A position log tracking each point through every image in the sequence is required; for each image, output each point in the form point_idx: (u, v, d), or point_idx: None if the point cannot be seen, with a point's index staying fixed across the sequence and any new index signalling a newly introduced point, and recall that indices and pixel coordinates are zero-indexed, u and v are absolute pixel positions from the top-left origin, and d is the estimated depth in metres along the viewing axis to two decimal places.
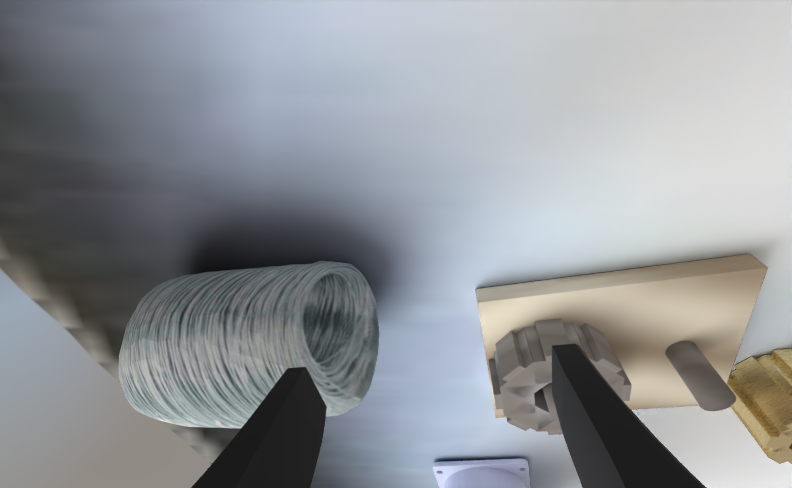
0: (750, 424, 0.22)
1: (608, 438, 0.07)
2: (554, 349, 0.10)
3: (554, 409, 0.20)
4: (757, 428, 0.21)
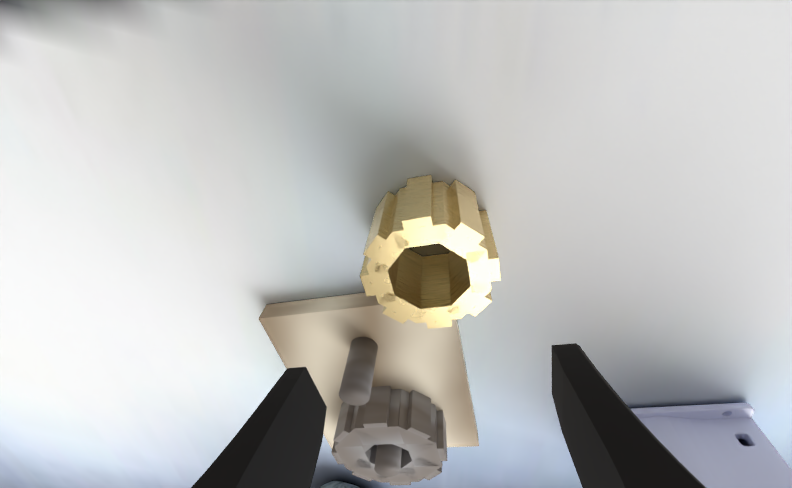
0: None
1: (608, 438, 0.07)
2: (554, 349, 0.10)
3: (386, 474, 0.23)
4: None
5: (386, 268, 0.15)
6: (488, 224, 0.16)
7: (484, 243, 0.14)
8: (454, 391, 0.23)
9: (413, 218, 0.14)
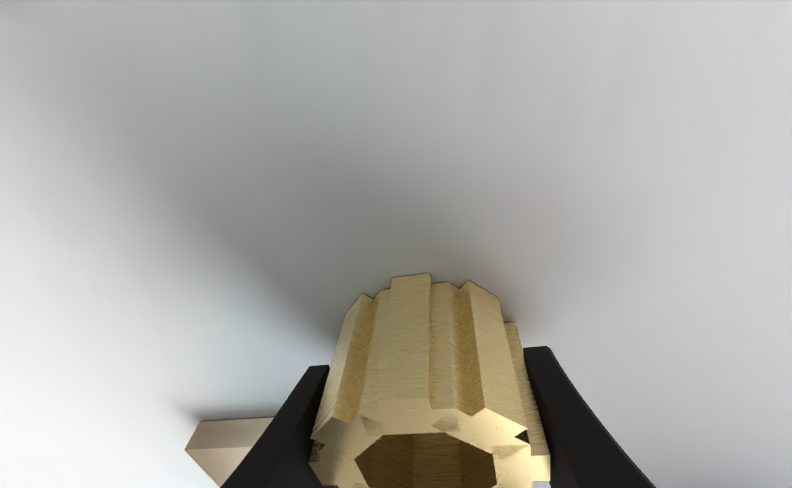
0: None
1: (567, 440, 0.07)
2: (524, 351, 0.10)
3: None
4: None
5: (352, 457, 0.09)
6: (522, 357, 0.10)
7: None
8: None
9: (396, 396, 0.07)
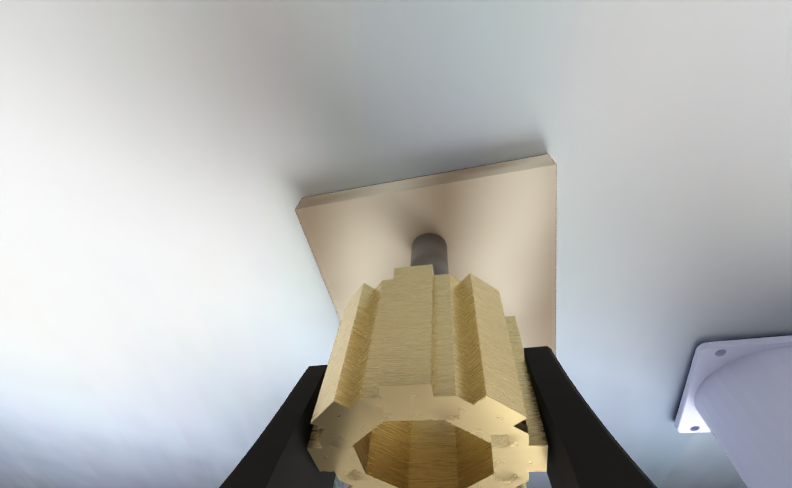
0: None
1: (568, 440, 0.07)
2: (525, 351, 0.10)
3: None
4: None
5: (351, 443, 0.09)
6: (521, 350, 0.10)
7: None
8: (537, 313, 0.18)
9: (397, 383, 0.07)
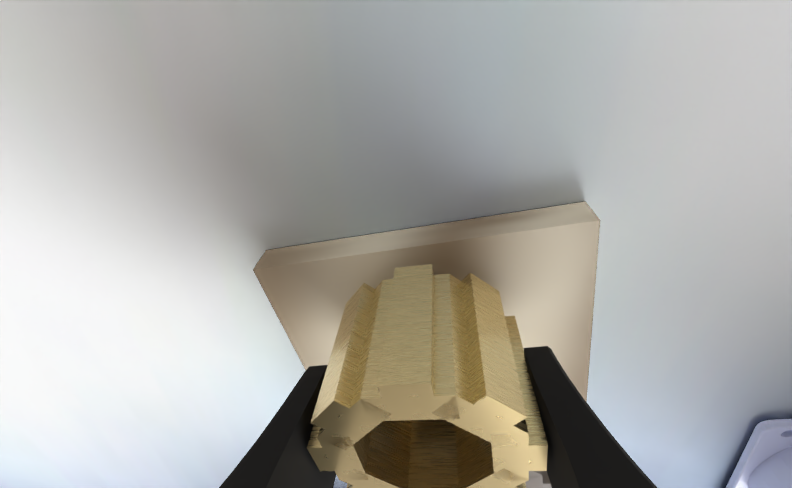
0: None
1: (568, 439, 0.07)
2: (525, 351, 0.10)
3: None
4: None
5: (351, 442, 0.09)
6: (521, 350, 0.10)
7: None
8: None
9: (398, 382, 0.07)
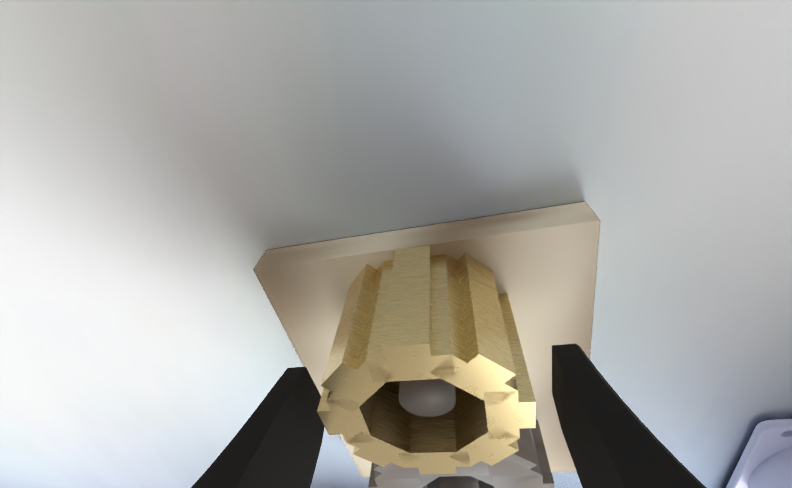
0: None
1: (608, 438, 0.07)
2: (553, 349, 0.10)
3: None
4: None
5: (357, 404, 0.10)
6: (513, 323, 0.11)
7: None
8: None
9: (400, 343, 0.08)
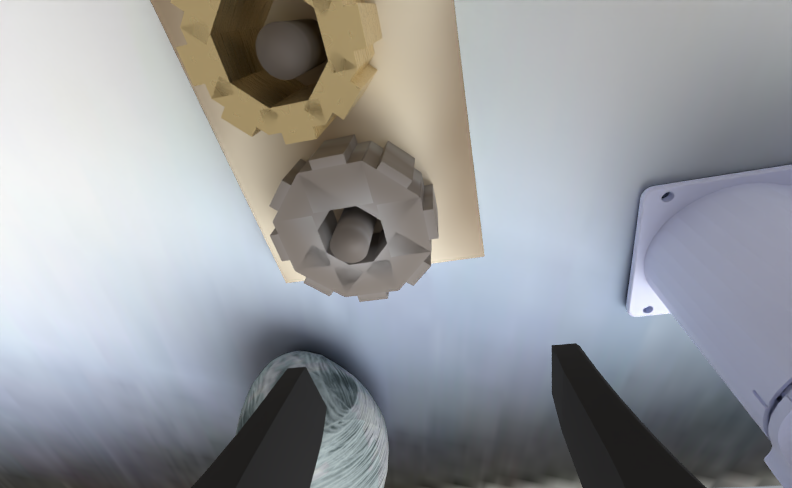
0: None
1: (608, 438, 0.07)
2: (553, 349, 0.10)
3: (348, 258, 0.15)
4: None
5: (207, 30, 0.11)
6: (369, 3, 0.12)
7: None
8: (449, 139, 0.16)
9: None
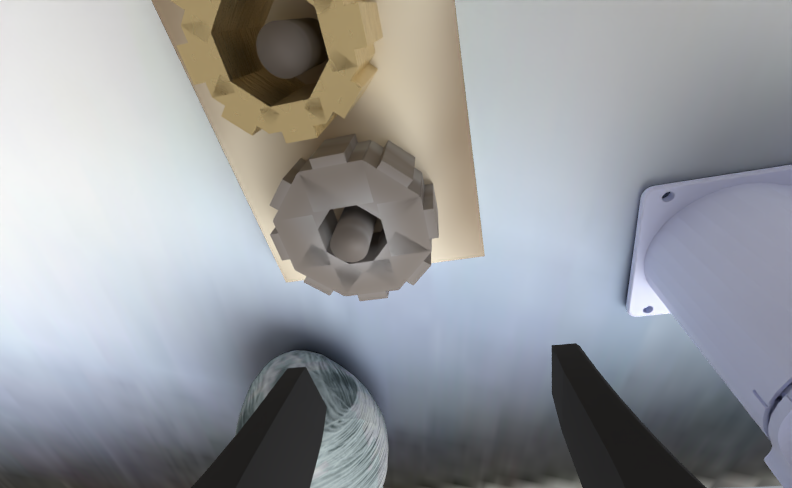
0: None
1: (608, 438, 0.07)
2: (554, 349, 0.10)
3: (348, 257, 0.15)
4: None
5: (208, 28, 0.11)
6: (369, 2, 0.12)
7: None
8: (449, 138, 0.16)
9: None
